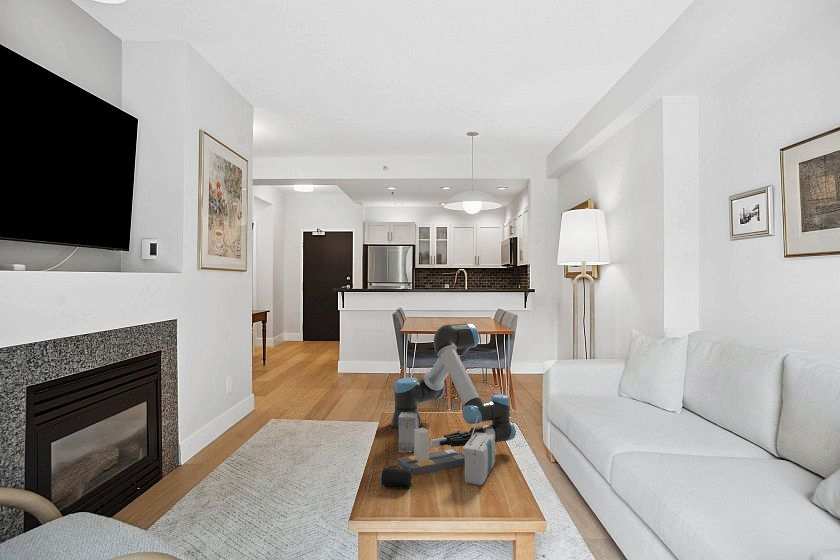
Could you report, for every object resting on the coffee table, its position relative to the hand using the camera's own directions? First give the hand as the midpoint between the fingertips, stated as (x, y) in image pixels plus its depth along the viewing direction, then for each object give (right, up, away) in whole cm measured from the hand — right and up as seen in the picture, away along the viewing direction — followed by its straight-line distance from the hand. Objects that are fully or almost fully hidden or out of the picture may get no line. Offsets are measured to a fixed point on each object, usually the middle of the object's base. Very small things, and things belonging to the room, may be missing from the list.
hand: (431, 443), depth 193 cm
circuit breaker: (-9, -9, +21) cm, 25 cm away
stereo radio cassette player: (+18, -9, -10) cm, 22 cm away
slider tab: (-4, -6, -1) cm, 7 cm away
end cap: (-13, -9, -20) cm, 25 cm away
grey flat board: (+1, -9, +1) cm, 9 cm away
